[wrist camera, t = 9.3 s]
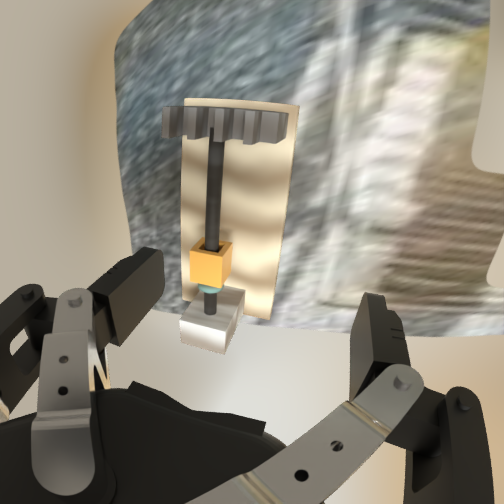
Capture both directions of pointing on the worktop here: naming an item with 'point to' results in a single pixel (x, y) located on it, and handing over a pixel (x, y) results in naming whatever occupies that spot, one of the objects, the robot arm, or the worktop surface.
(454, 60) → the worktop surface
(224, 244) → the sleeve
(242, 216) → the cord board
